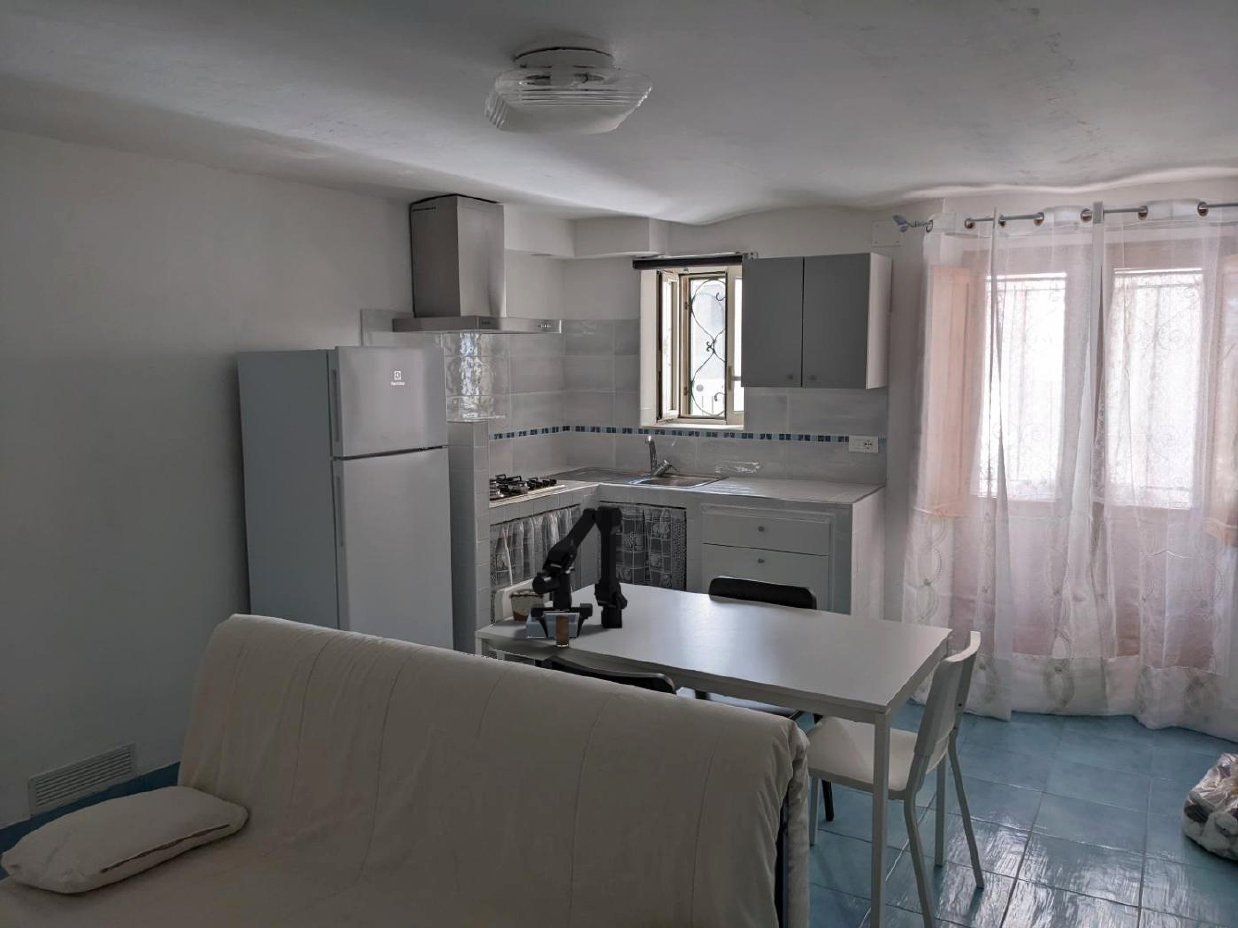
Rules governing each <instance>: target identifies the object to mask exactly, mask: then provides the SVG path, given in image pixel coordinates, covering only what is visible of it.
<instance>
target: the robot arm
mask: <svg viewBox="0 0 1238 928" xmlns="http://www.w3.org/2000/svg"><path fill="white" fill-rule="evenodd" d="M622 516H623V511H622V510H621V509H620V508H619V507H618V506H611V505H604V504H601V505H599V506H598V507H586V508H584V509H583V511H582V514H581V516H580V517H579V518H578V520H577V521H576V522H575V524H574V525H573V526H572V528H571V529H570V530H569V531H568V533H567V534H566V536H565V537H563V539H560V540H558V541H557V542H555V544H553V546H552V547H550V549H549V550H548V553H547V554H546V555H547V556H546V557H545V560H544V563H543V565H542V566H541V570H542V571H540V570H539V571H537V572H536V576H535V577H533V579H532V582H531V589H533V590H534V592H535V593H536V594H538V595H543V594H545V595H547V594H549V595H548V601H549V602H552V606H546V604H545V603H543V604H533V605H532V607H531V617H535V620H539V622H540V624H541V625H542V627H543V630H544V632H545V635H546V637H547V638H546V639H549V638H548V626H547V618H546V614H578V616H579V618H578V627H577V638H579V637H580V633H581V629H582V627H583V625H584V622H585V621H586V620H589V618H591V617H593V614H594V605H593V603H591V602H587V603H586V602H583V603H579V606H572V605H573V595H572V577H571V576H572V573H573V572H575V571H576V568H574V566H572V565H573V564H574V562H575V560H576V558H577V556H578V548H579V547H580V545H581V544H582V542H583V541H584V540H585V538H586V537H587V535H588V534H589V533H590V532H591V530H592V528H593V527H594V526H596V527H597V529H598V531H599V534H600V578H599V579H598V581H597V582H595V583H594V585H593V587H594V591H593V593H594V594H593V595H594V597H595V601H596V604H597V606H598V607H602V609H601V610H600V624H601V625H602V627H601V628H604V629H606V628H607V629H608V628H613V629H614V628H623V610H625V609H626V608H628V607H627V606H628V603H629V602H628V599H627V598H626V597H625V596H624V595H623V592H622V586H621V583H620V581H619V579H618V577H617V533H618V531H619V529H621V528H620V527H621V526H622V518H623V517H622ZM577 638H576V639H577Z"/></svg>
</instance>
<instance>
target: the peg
mask: <svg viewBox="0 0 1238 928" xmlns="http://www.w3.org/2000/svg"><path fill="white" fill-rule="evenodd" d="M556 644H557V645H561V646H562V645H567V644H569V645H570V638H569V616H567V615H558V616H556V638H555V645H556Z"/></svg>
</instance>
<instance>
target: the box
mask: <svg viewBox="0 0 1238 928" xmlns="http://www.w3.org/2000/svg"><path fill="white" fill-rule="evenodd" d="M558 615H567V616H569V637H577V627H578V618H579V613H546V618H547V626H548V637H556V616H558ZM526 636H527V637H528V636H529V637H531V636H532V637H546V635H545V632H544V630H543V627H542V625H541V624H540V622H539V620H535V617H531V614H529V616H528V619H527V622H525V637H526Z"/></svg>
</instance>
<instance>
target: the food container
mask: <svg viewBox="0 0 1238 928" xmlns="http://www.w3.org/2000/svg"><path fill="white" fill-rule="evenodd" d="M508 599H510V604H511V611H512V619H513V622H514V621H519V622H518V623H526V622H527V619H528V616H529V614H531V607H532V605H533V604H544V600H546V594H543V595H538V594H536V593H535V592H534V590H533V588H519V589H515V590H512V591H510V592H509V595H508Z"/></svg>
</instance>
